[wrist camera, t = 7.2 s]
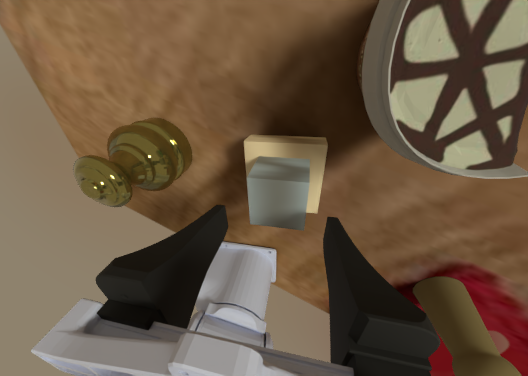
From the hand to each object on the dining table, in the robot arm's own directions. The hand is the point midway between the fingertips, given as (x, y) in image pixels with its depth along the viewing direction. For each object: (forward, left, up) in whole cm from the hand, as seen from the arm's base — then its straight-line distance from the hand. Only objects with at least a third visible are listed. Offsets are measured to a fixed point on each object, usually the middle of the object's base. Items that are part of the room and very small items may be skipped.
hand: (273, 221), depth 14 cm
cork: (+22, -18, -10) cm, 30 cm away
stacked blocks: (0, 0, -8) cm, 8 cm away
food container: (+7, +9, -10) cm, 15 cm away
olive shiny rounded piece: (-15, +1, -10) cm, 18 cm away
